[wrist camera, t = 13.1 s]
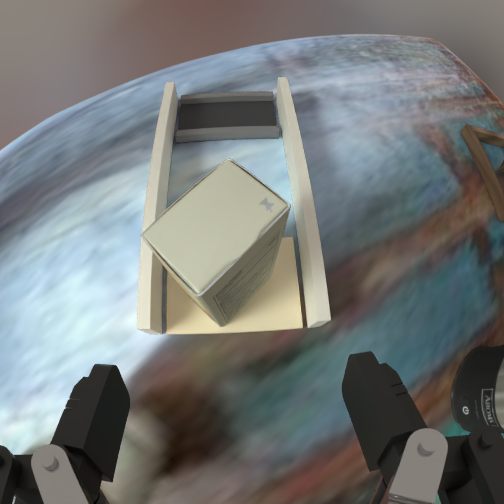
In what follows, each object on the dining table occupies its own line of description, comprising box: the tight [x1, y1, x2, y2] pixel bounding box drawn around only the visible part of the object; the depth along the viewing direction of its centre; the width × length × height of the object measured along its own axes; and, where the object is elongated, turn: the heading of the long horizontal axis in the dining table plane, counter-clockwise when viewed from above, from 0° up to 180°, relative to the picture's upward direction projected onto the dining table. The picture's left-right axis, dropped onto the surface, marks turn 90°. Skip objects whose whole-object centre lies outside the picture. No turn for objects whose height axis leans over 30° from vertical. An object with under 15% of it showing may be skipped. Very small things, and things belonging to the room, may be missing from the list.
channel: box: [137, 77, 331, 334], centre depth 27 cm, size 14×27×4 cm, turn 3°
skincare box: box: [141, 159, 291, 327], centre depth 20 cm, size 6×4×12 cm
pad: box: [167, 237, 303, 334], centre depth 25 cm, size 11×8×1 cm
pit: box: [176, 91, 279, 143], centre depth 32 cm, size 11×7×1 cm, turn 93°
